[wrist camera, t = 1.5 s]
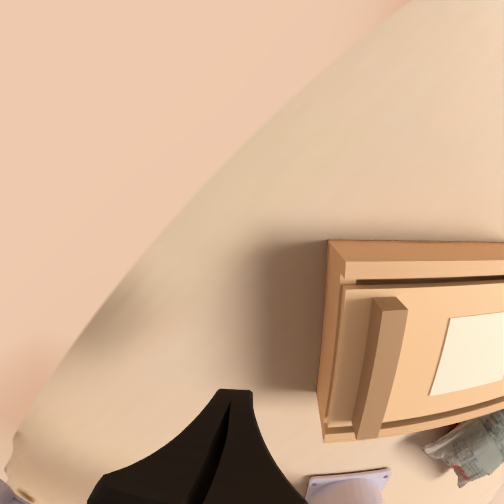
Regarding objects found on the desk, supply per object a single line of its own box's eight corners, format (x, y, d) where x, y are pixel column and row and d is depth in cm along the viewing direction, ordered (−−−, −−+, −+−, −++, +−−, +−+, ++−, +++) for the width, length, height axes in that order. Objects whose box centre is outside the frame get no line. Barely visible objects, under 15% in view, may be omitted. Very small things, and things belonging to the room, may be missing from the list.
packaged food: (451, 472, 22) (465, 501, 18) (415, 434, 21) (433, 472, 16) (511, 424, 21) (530, 449, 16) (491, 372, 20) (519, 401, 15)
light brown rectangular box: (484, 371, 19) (513, 404, 14) (316, 392, 20) (323, 443, 15) (513, 242, 17) (558, 259, 12) (327, 239, 18) (345, 261, 13)
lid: (514, 386, 15) (529, 402, 12) (326, 420, 16) (331, 446, 14) (547, 276, 13) (568, 286, 11) (343, 285, 14) (353, 302, 12)
